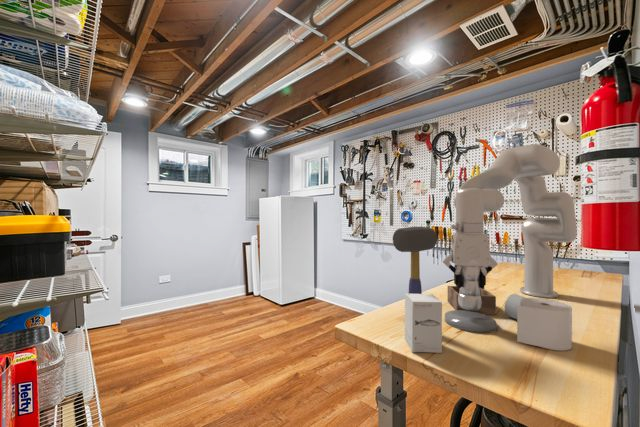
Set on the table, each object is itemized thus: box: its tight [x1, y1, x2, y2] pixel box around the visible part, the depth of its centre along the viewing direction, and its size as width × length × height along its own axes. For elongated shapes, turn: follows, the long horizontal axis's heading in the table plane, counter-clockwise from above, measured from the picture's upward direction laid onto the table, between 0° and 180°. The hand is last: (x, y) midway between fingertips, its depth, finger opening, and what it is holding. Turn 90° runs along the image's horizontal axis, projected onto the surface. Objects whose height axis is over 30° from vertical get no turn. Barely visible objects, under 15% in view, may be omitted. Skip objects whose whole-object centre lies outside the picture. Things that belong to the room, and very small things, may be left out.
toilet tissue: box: [516, 297, 573, 351], centre depth 73 cm, size 11×12×10 cm
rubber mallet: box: [392, 226, 438, 294], centre depth 83 cm, size 12×8×30 cm, turn 119°
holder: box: [447, 285, 497, 315], centre depth 99 cm, size 12×12×6 cm
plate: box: [444, 309, 498, 334], centre depth 85 cm, size 14×14×2 cm
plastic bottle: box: [458, 259, 482, 311], centre depth 85 cm, size 6×7×20 cm
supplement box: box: [404, 293, 443, 354], centre depth 71 cm, size 7×7×13 cm
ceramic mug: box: [504, 293, 526, 321], centre depth 87 cm, size 11×8×8 cm
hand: (469, 286), depth 85 cm, fingers closed on plastic bottle, 5 cm apart
